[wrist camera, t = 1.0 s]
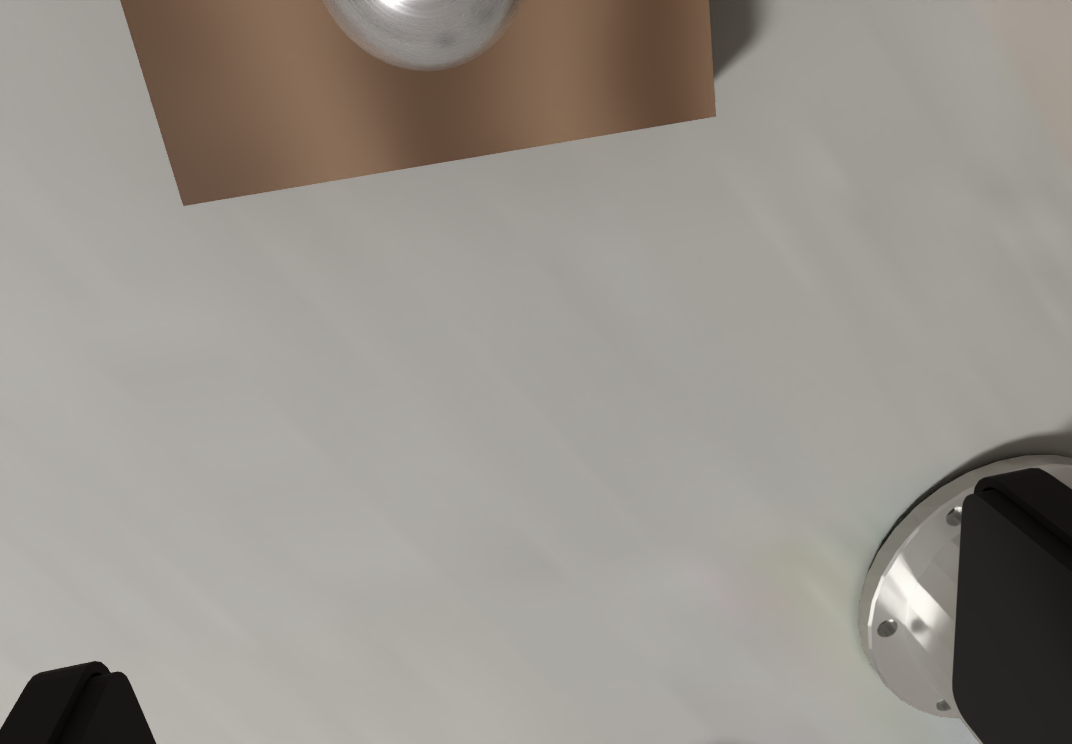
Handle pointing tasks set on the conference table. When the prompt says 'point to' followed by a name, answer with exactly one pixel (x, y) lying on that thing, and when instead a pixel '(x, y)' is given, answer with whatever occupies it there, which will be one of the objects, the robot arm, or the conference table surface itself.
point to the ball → (424, 29)
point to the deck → (402, 88)
